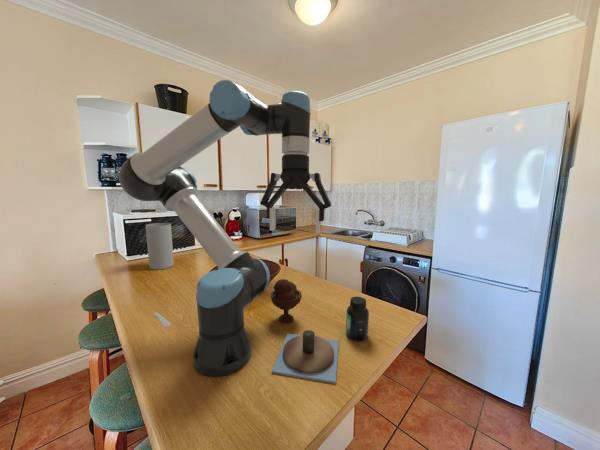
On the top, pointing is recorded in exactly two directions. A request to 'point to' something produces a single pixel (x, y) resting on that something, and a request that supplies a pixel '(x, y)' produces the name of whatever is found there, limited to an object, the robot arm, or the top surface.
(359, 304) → the supplement bottle
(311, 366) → the walnut lid
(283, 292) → the ice cream bowl
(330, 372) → the slate mat
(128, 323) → the top surface
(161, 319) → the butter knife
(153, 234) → the cylinder vase
